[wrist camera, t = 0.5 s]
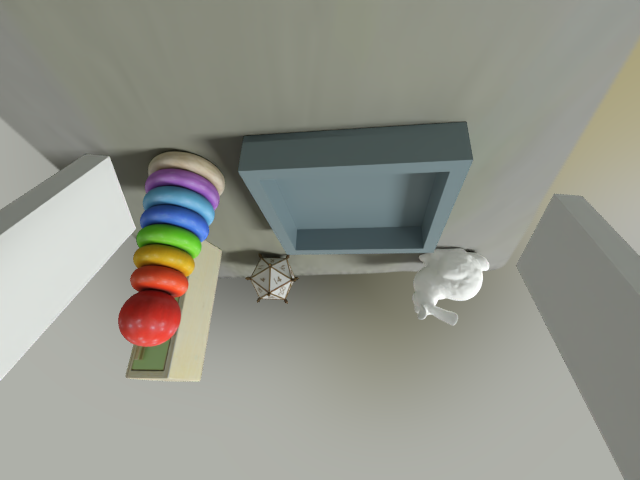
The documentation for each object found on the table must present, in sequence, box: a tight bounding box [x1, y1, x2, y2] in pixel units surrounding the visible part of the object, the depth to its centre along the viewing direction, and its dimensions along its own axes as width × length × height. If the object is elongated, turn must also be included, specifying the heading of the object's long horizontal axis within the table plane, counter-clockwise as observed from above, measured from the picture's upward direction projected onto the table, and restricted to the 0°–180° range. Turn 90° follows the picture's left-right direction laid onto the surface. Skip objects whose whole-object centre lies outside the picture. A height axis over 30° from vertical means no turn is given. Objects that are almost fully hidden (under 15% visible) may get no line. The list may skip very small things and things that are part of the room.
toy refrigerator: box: [126, 240, 222, 382], centre depth 53 cm, size 8×7×21 cm
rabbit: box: [412, 248, 489, 325], centre depth 54 cm, size 12×9×12 cm
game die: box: [246, 254, 298, 303], centre depth 59 cm, size 9×8×10 cm
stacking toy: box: [118, 151, 225, 347], centre depth 34 cm, size 8×8×19 cm
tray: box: [238, 122, 473, 255], centre depth 39 cm, size 20×20×4 cm
